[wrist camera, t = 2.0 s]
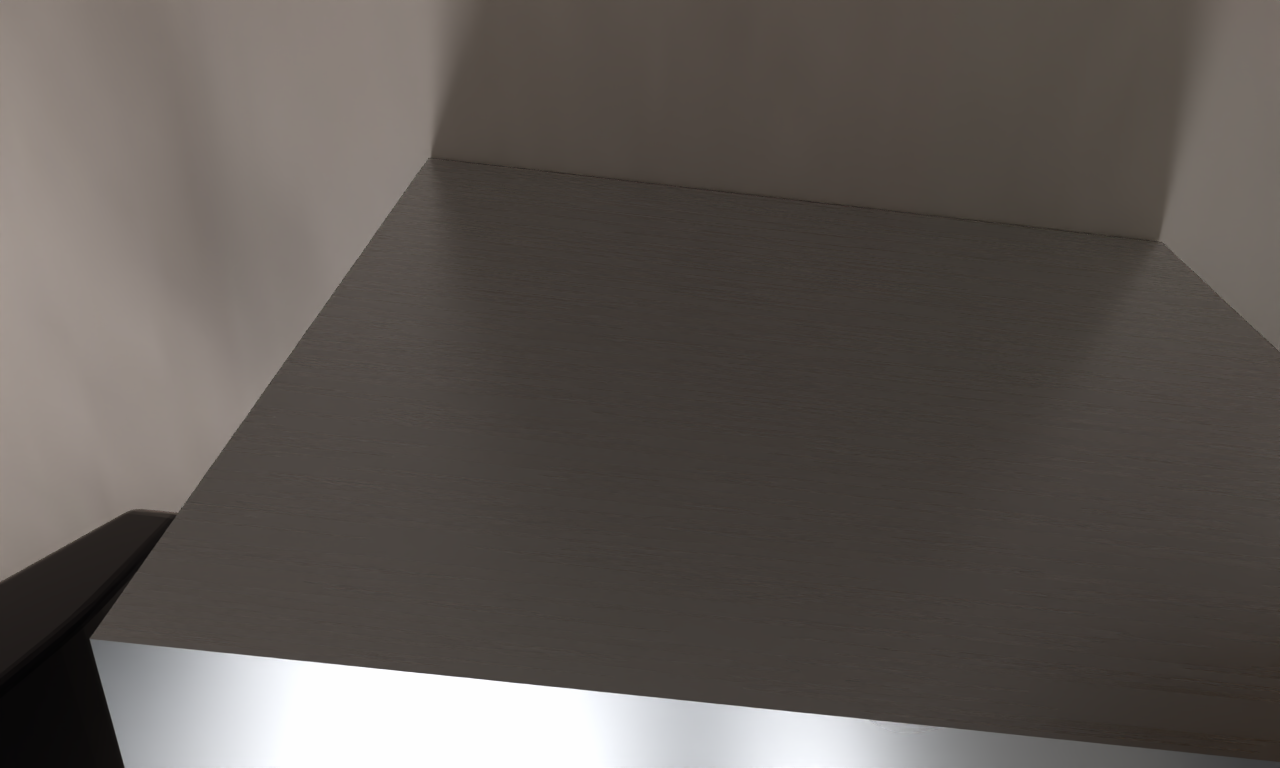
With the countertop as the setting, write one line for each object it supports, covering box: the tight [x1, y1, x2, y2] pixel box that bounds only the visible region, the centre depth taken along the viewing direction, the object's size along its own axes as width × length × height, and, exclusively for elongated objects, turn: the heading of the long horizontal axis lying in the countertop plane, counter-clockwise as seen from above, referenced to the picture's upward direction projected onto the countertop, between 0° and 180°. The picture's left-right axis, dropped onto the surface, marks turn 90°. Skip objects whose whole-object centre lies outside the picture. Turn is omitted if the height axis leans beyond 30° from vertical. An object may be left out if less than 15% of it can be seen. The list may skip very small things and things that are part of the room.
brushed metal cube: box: [90, 158, 1280, 768], centre depth 7 cm, size 6×6×5 cm
